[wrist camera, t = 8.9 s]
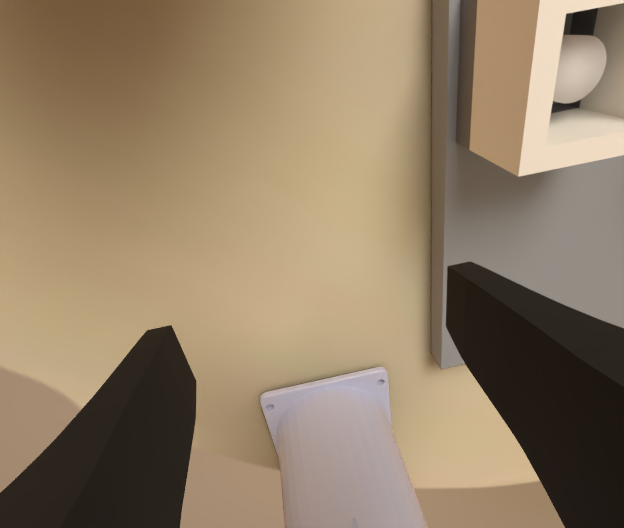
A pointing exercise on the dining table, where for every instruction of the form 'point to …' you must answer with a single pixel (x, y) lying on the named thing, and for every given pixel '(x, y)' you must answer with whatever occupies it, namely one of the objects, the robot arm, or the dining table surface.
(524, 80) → the sleeve
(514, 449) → the dining table surface
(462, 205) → the pin board
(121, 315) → the dining table surface
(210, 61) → the dining table surface
